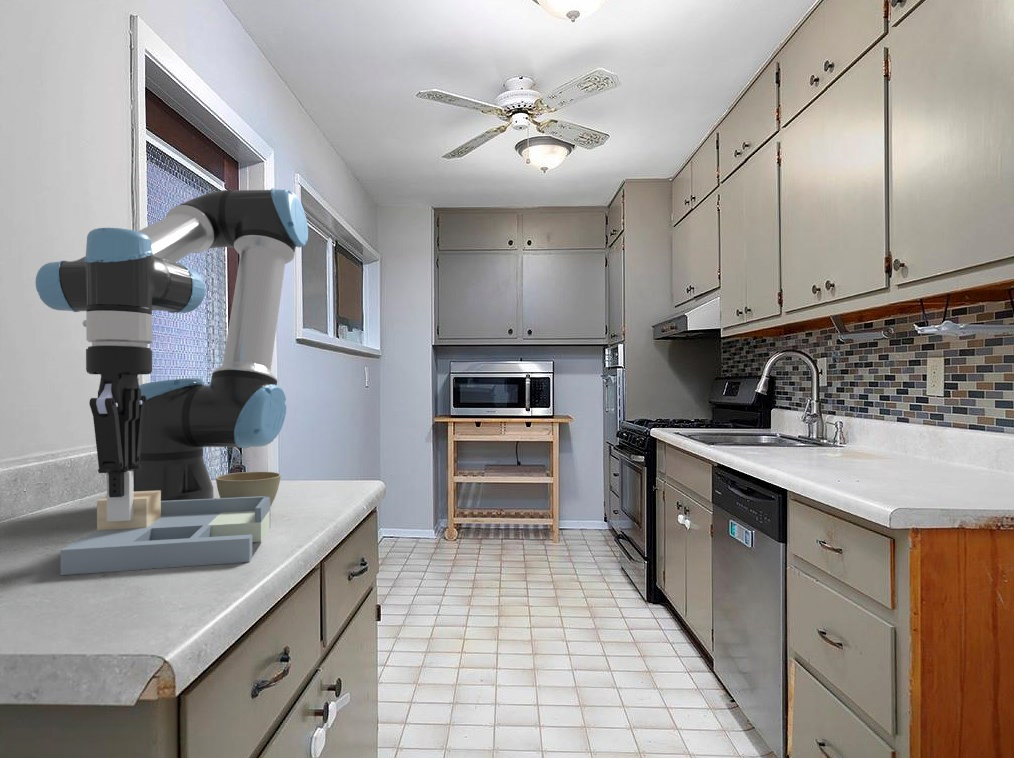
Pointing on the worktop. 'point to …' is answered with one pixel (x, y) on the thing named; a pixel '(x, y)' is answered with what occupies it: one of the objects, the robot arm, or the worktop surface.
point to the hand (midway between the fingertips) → (120, 519)
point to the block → (144, 512)
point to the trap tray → (176, 538)
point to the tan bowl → (248, 484)
